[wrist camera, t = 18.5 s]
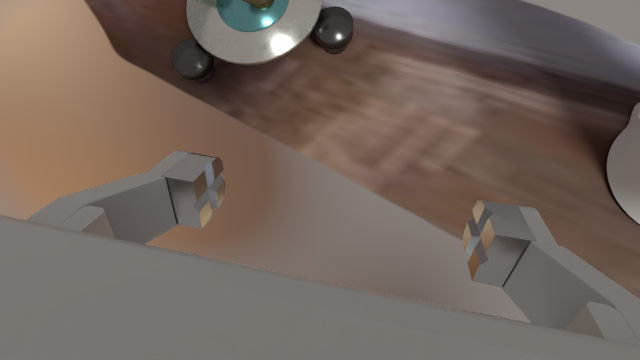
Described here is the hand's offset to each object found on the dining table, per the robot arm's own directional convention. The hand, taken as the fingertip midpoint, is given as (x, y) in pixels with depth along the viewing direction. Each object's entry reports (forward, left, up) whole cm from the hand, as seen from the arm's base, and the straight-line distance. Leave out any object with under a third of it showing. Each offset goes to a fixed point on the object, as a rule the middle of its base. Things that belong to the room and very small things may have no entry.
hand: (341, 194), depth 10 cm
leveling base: (+6, -34, -29) cm, 45 cm away
